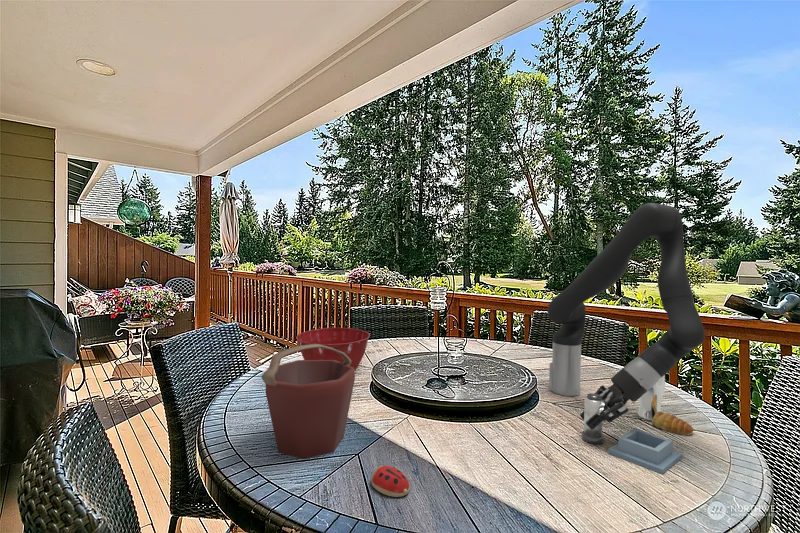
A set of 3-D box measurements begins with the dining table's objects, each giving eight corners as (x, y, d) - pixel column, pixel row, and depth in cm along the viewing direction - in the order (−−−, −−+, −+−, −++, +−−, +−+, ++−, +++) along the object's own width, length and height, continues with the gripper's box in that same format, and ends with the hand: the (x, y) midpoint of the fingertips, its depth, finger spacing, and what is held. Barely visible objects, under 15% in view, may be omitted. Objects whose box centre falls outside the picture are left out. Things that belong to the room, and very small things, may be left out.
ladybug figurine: (385, 473, 95) (385, 457, 95) (418, 491, 88) (418, 474, 88) (363, 485, 90) (363, 468, 90) (396, 505, 83) (396, 487, 83)
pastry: (697, 432, 116) (697, 419, 116) (686, 439, 112) (687, 425, 112) (660, 421, 124) (660, 408, 123) (649, 426, 120) (649, 413, 119)
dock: (608, 453, 104) (608, 437, 104) (630, 439, 111) (630, 424, 111) (662, 474, 94) (663, 456, 94) (682, 457, 102) (683, 441, 102)
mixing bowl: (366, 385, 153) (366, 343, 152) (287, 384, 154) (287, 342, 153) (372, 363, 181) (372, 327, 181) (306, 363, 182) (305, 327, 181)
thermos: (578, 439, 111) (579, 395, 111) (588, 433, 115) (589, 390, 114) (597, 446, 107) (598, 400, 107) (607, 440, 111) (608, 396, 110)
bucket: (267, 473, 94) (266, 362, 93) (252, 433, 114) (250, 341, 112) (368, 449, 105) (368, 350, 104) (339, 417, 125) (338, 333, 124)
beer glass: (667, 422, 122) (669, 371, 121) (641, 420, 123) (642, 369, 123) (657, 413, 129) (659, 364, 128) (633, 411, 130) (634, 363, 129)
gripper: (614, 360, 116) (567, 402, 118) (637, 376, 102) (583, 423, 104) (634, 380, 116) (586, 421, 118) (660, 399, 102) (605, 445, 104)
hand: (585, 422), depth 111 cm, fingers closed on thermos, 4 cm apart
